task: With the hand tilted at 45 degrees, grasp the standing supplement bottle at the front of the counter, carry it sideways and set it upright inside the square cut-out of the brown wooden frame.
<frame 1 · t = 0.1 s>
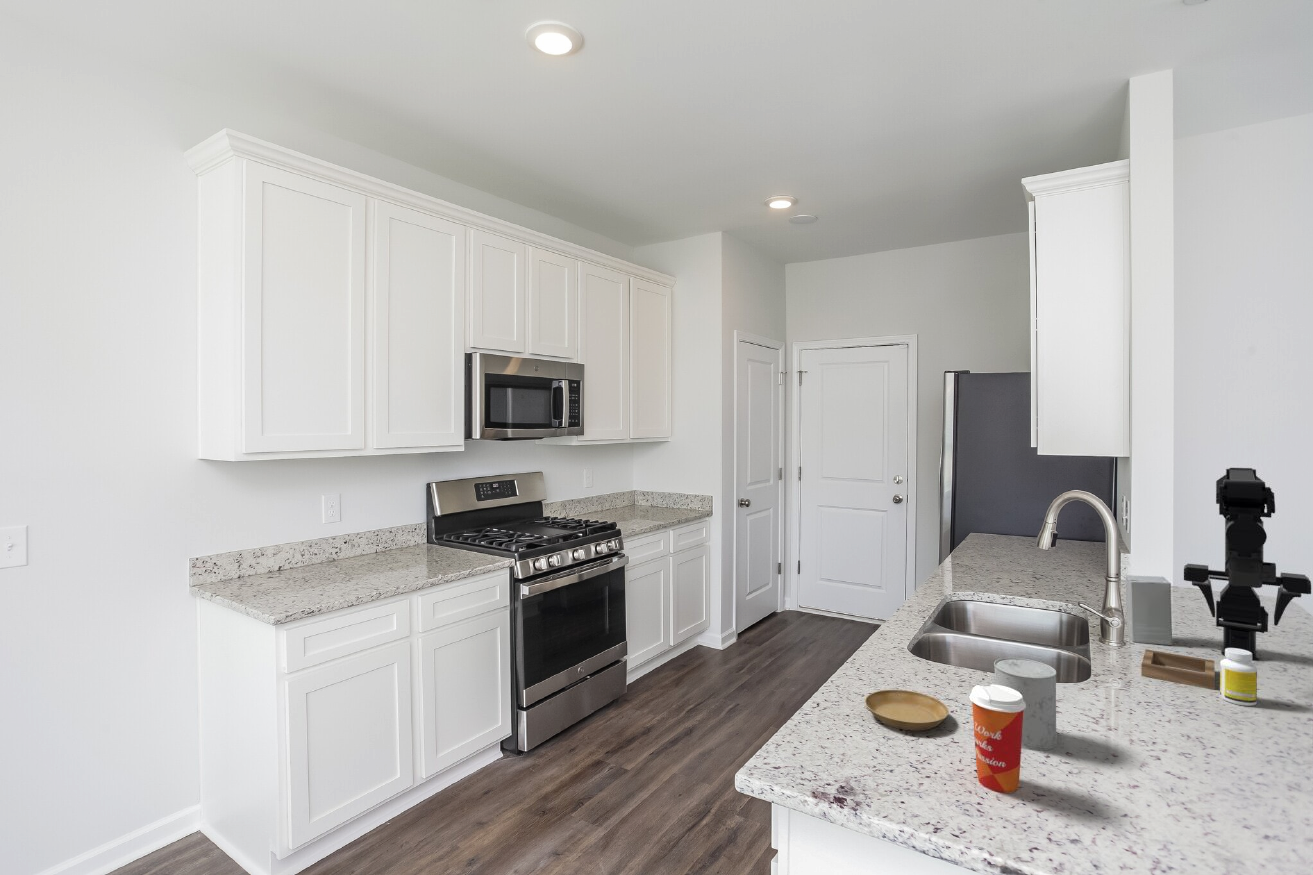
hand: (1244, 620, 131), 15 cm above the worktop, tool pointing down, fingers open, 9 cm apart
grey concrete cylinder: (1025, 737, 115), on the worktop
brown wooden frame: (1178, 673, 142), on the worktop
paper cup: (998, 784, 101), on the worktop
plant saucer: (905, 719, 124), on the worktop
supplement bottle: (1238, 701, 128), on the worktop
skincare box: (1148, 641, 163), on the worktop
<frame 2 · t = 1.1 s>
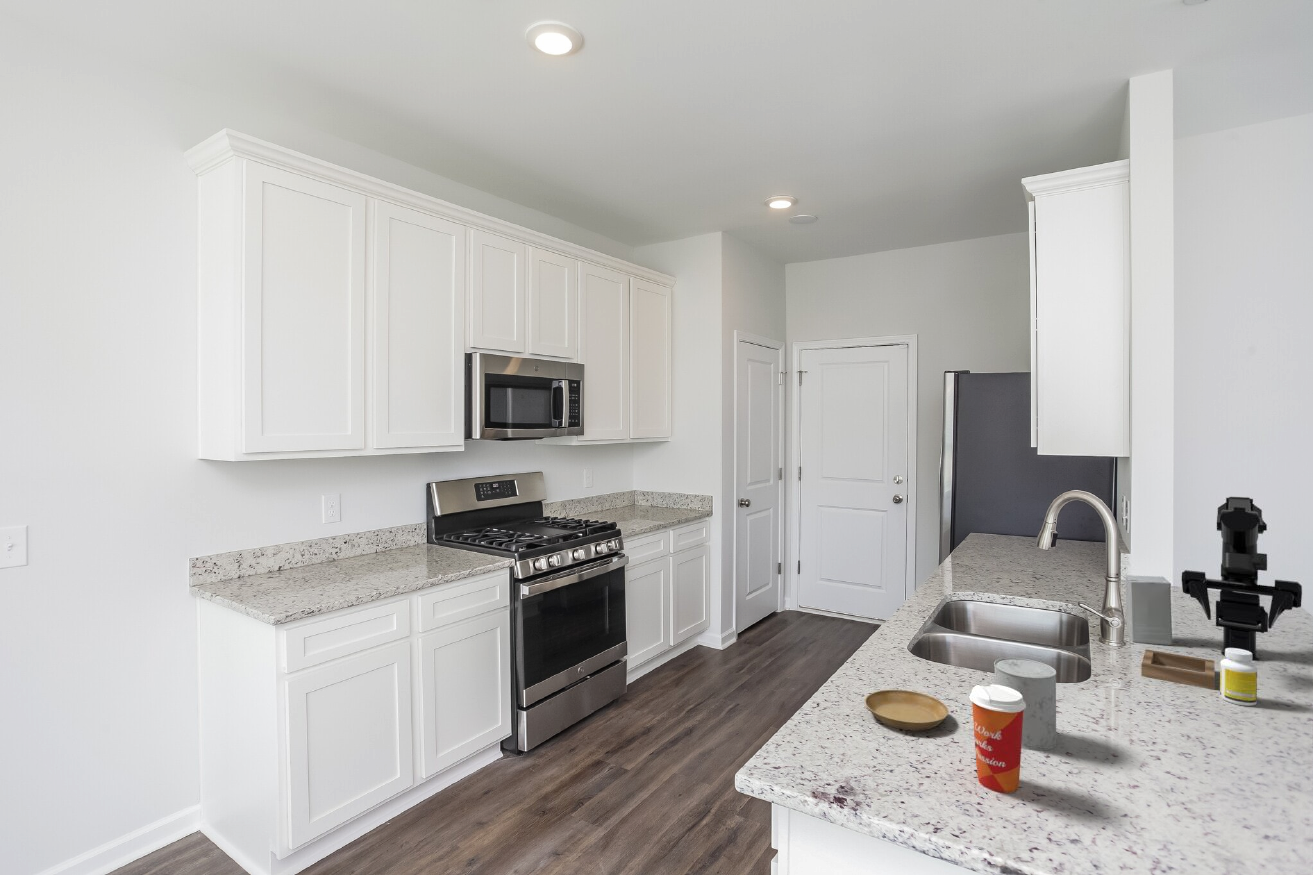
hand: (1238, 623, 134), 13 cm above the worktop, tool tilted 45°, fingers open, 9 cm apart
nothing on the worktop moved.
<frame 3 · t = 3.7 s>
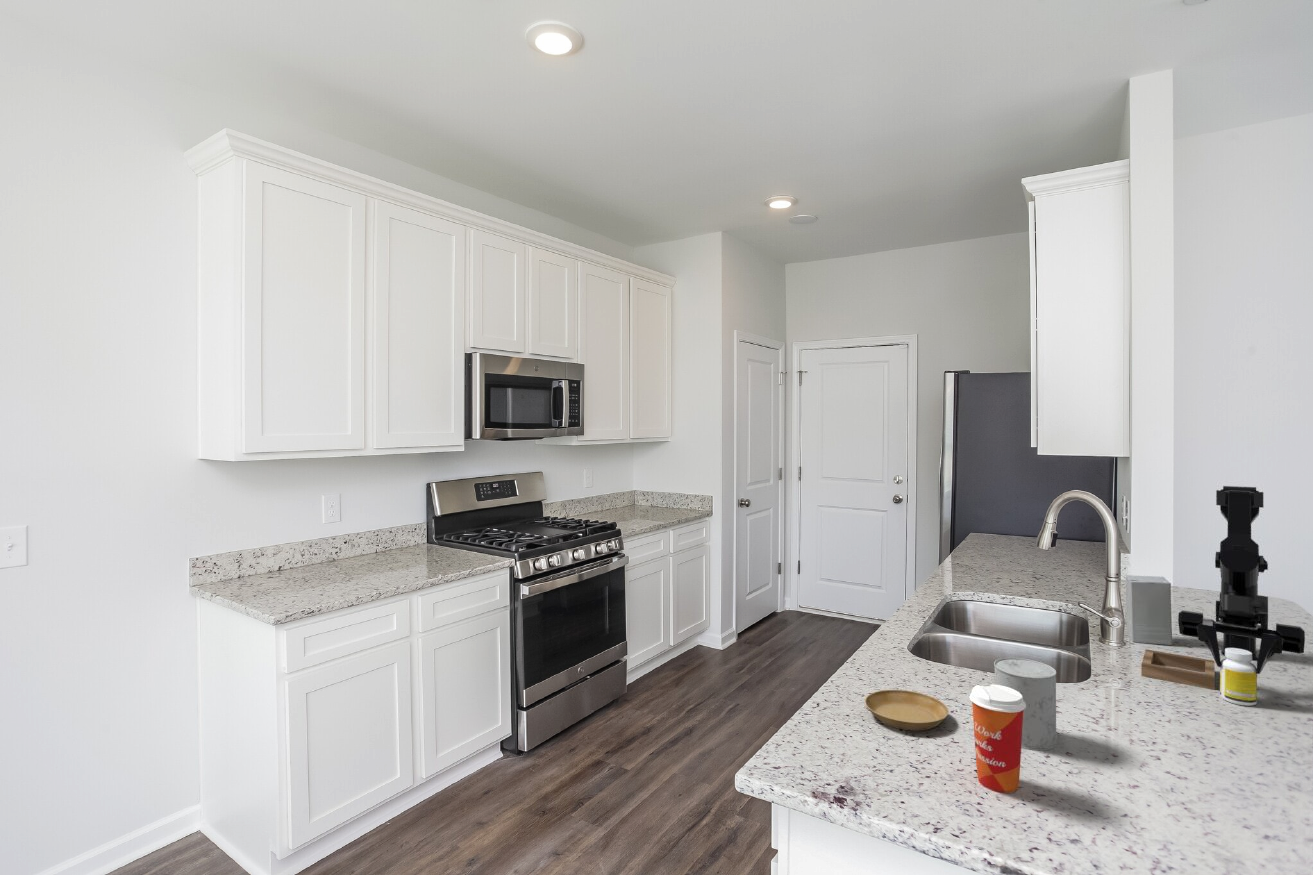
hand: (1238, 669, 127), 7 cm above the worktop, tool tilted 45°, fingers closed on supplement bottle, 5 cm apart
supplement bottle: (1238, 701, 128), on the worktop, touching gripper
everything else where it was.
when the fingers open (8 cm above the worktop, at t = 8.2 s): supplement bottle drops 1 cm, resting in brown wooden frame.
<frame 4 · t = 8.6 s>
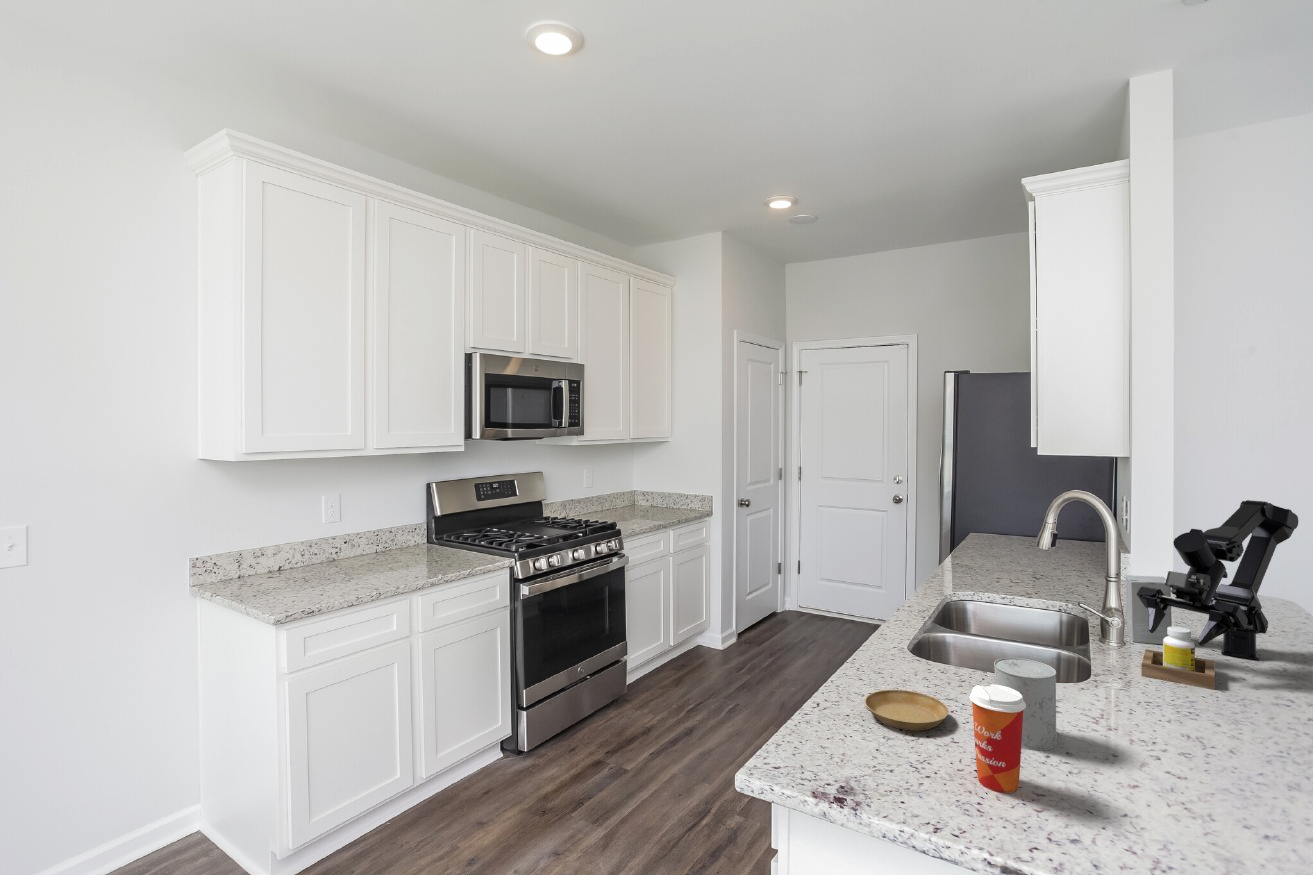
hand: (1174, 637, 141), 8 cm above the worktop, tool tilted 45°, fingers open, 9 cm apart
supplement bottle: (1178, 674, 142), resting in brown wooden frame
everything else where it was.
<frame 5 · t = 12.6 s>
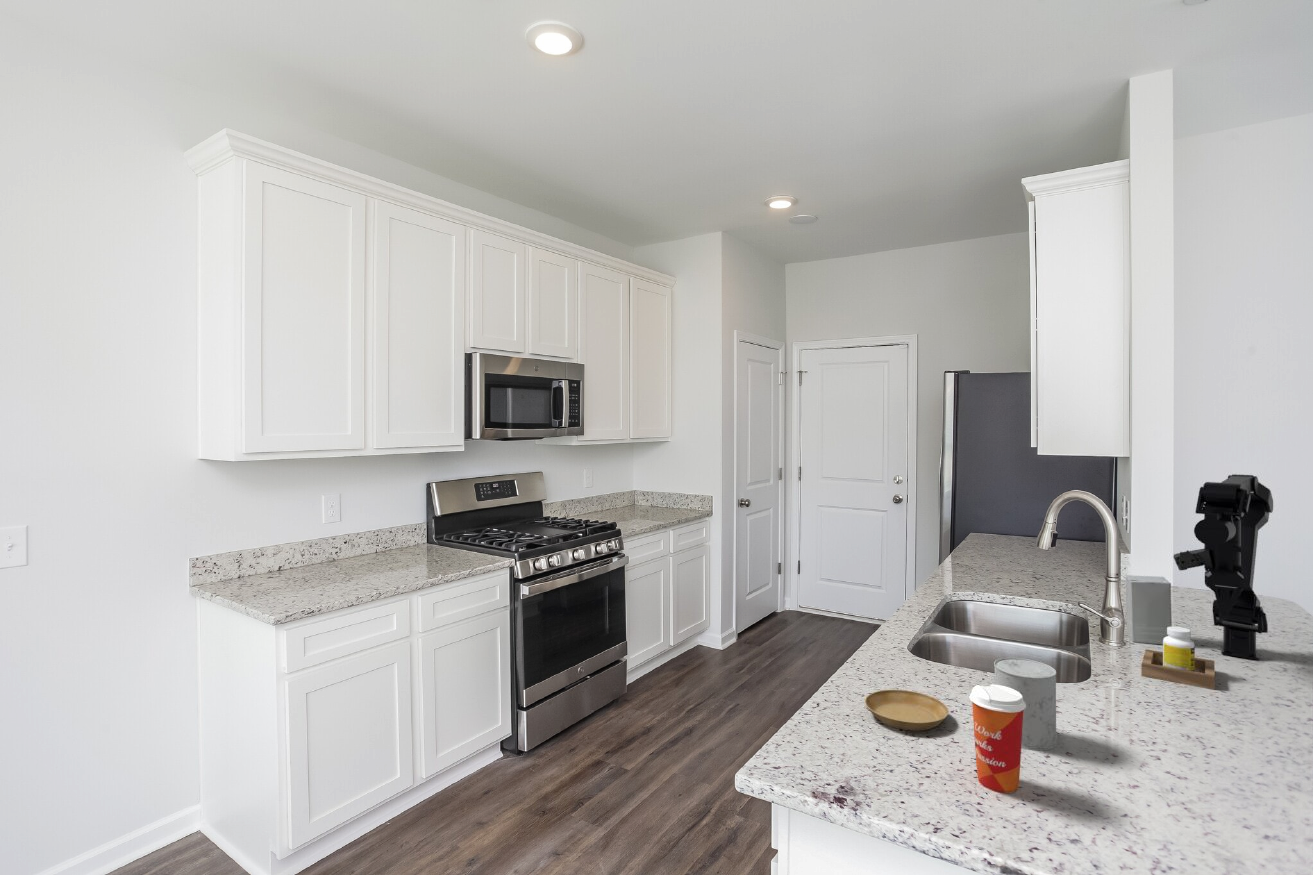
hand: (1223, 611, 143), 13 cm above the worktop, tool pointing down, fingers open, 9 cm apart
nothing on the worktop moved.
at the end: supplement bottle 0.1 cm off-centre on the brown wooden frame, point 0.0 cm above the brown wooden frame's base; supplement bottle tilted 0°; the gripper is holding nothing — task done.
